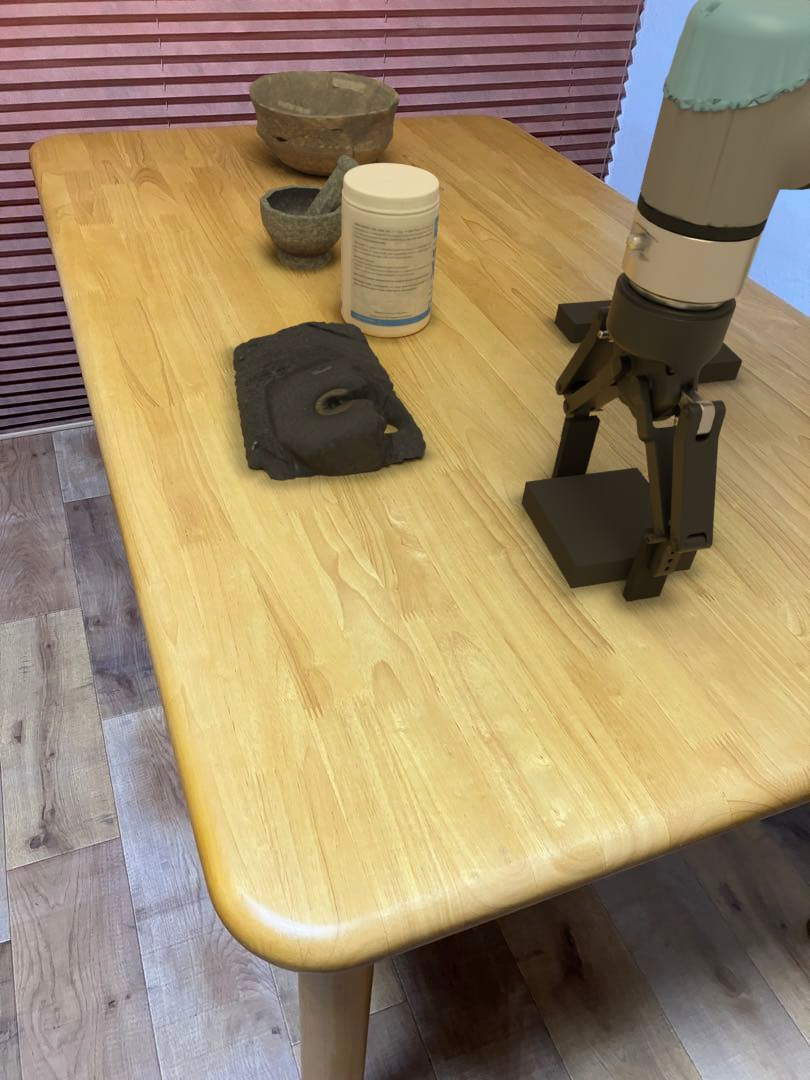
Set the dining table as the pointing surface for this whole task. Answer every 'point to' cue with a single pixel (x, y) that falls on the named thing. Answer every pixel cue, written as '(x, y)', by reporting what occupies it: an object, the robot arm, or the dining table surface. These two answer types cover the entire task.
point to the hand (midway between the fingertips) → (601, 536)
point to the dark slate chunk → (319, 404)
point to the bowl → (323, 118)
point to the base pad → (576, 326)
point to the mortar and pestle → (306, 219)
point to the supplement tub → (388, 248)
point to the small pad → (593, 523)
